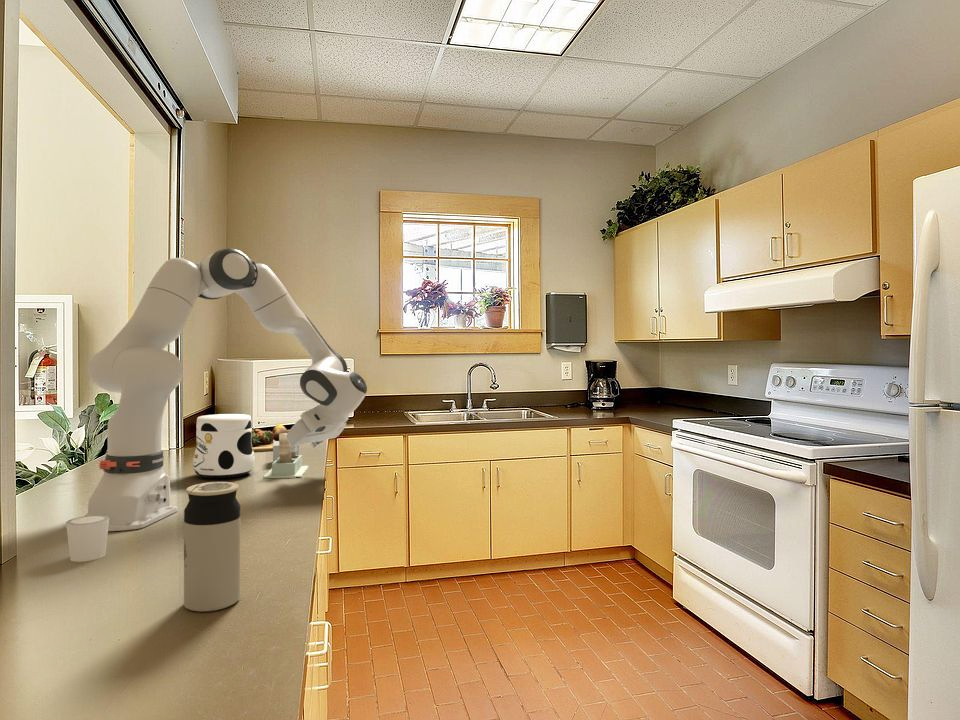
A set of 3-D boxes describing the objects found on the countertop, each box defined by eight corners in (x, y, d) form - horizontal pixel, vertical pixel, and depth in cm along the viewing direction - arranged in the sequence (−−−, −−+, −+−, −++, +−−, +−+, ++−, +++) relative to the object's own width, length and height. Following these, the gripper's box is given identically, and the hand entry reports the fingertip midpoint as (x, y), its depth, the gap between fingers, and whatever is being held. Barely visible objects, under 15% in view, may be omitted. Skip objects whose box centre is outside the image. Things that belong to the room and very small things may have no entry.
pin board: (301, 477, 188) (301, 436, 187) (263, 478, 186) (263, 436, 186) (308, 467, 204) (309, 429, 203) (273, 467, 202) (274, 429, 202)
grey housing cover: (298, 466, 206) (298, 444, 206) (273, 467, 203) (273, 445, 203) (297, 460, 215) (298, 440, 215) (273, 461, 213) (273, 441, 213)
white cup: (101, 548, 121) (101, 512, 121) (115, 556, 117) (115, 518, 117) (60, 557, 116) (60, 519, 116) (73, 565, 112) (73, 526, 112)
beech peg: (290, 473, 190) (290, 434, 190) (278, 474, 190) (278, 434, 190) (292, 471, 194) (292, 433, 194) (280, 471, 193) (280, 433, 193)
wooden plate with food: (201, 445, 247) (201, 424, 247) (278, 437, 269) (278, 418, 269) (232, 458, 224) (232, 435, 224) (314, 448, 246) (314, 427, 245)
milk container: (179, 479, 184) (179, 418, 184) (221, 468, 201) (221, 412, 200) (227, 483, 179) (227, 421, 178) (266, 472, 195) (266, 415, 195)
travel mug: (247, 592, 101) (247, 481, 100) (228, 613, 93) (229, 492, 92) (197, 592, 100) (197, 481, 100) (174, 613, 92) (174, 492, 92)
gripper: (345, 406, 194) (321, 435, 199) (298, 412, 176) (272, 444, 181) (356, 421, 192) (332, 450, 197) (310, 429, 174) (284, 461, 179)
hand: (303, 447), depth 189 cm, fingers open, 8 cm apart
